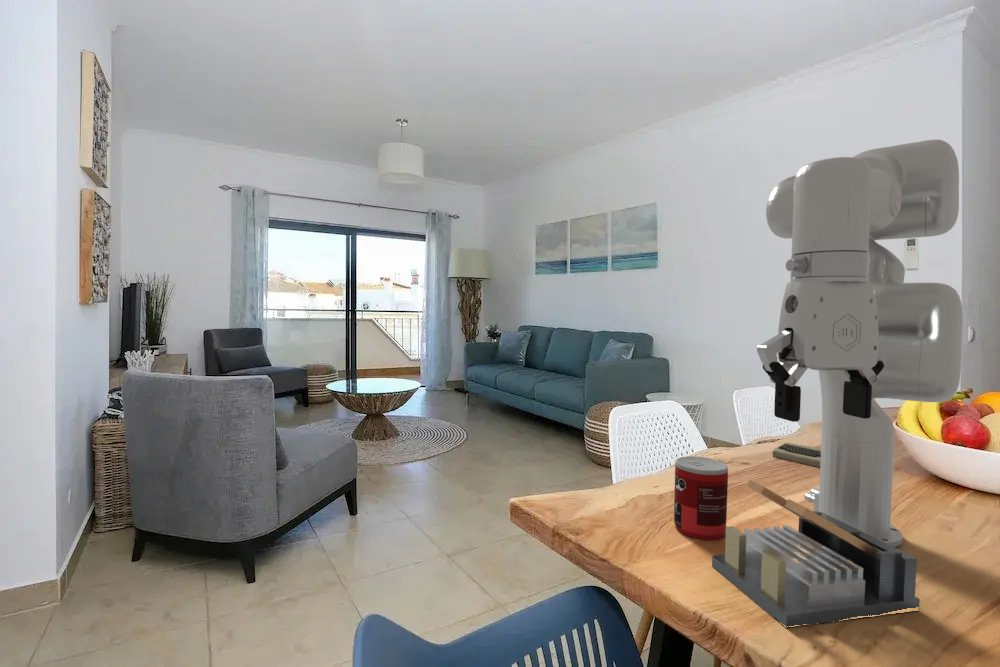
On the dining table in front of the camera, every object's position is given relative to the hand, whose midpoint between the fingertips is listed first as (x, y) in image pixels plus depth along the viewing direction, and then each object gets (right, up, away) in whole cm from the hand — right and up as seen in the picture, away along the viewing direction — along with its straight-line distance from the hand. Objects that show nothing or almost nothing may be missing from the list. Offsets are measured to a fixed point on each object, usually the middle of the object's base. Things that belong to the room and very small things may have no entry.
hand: (822, 417), depth 60 cm
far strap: (+1, -14, +9) cm, 17 cm away
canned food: (-5, -22, +23) cm, 32 cm away
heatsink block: (+2, -23, +6) cm, 24 cm away
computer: (+36, -21, +61) cm, 73 cm away
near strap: (+3, -15, +2) cm, 15 cm away
